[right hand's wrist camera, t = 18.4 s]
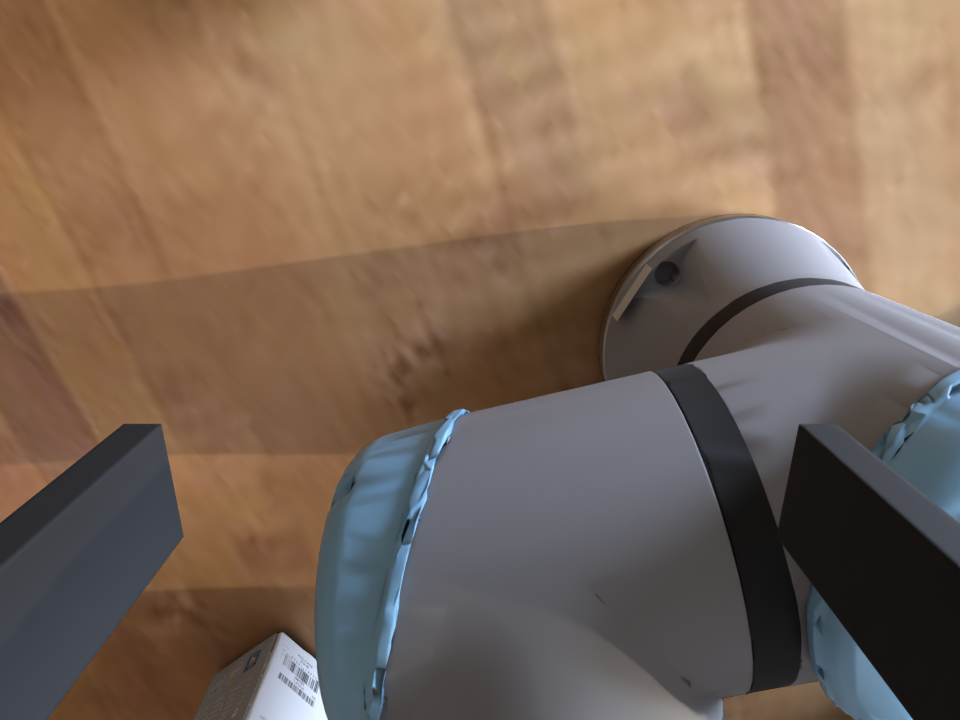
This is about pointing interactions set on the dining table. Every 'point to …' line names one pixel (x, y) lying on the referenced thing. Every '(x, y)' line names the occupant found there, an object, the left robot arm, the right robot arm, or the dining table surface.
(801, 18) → the dining table surface
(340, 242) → the dining table surface
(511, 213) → the dining table surface
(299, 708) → the hard drive box
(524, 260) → the dining table surface
